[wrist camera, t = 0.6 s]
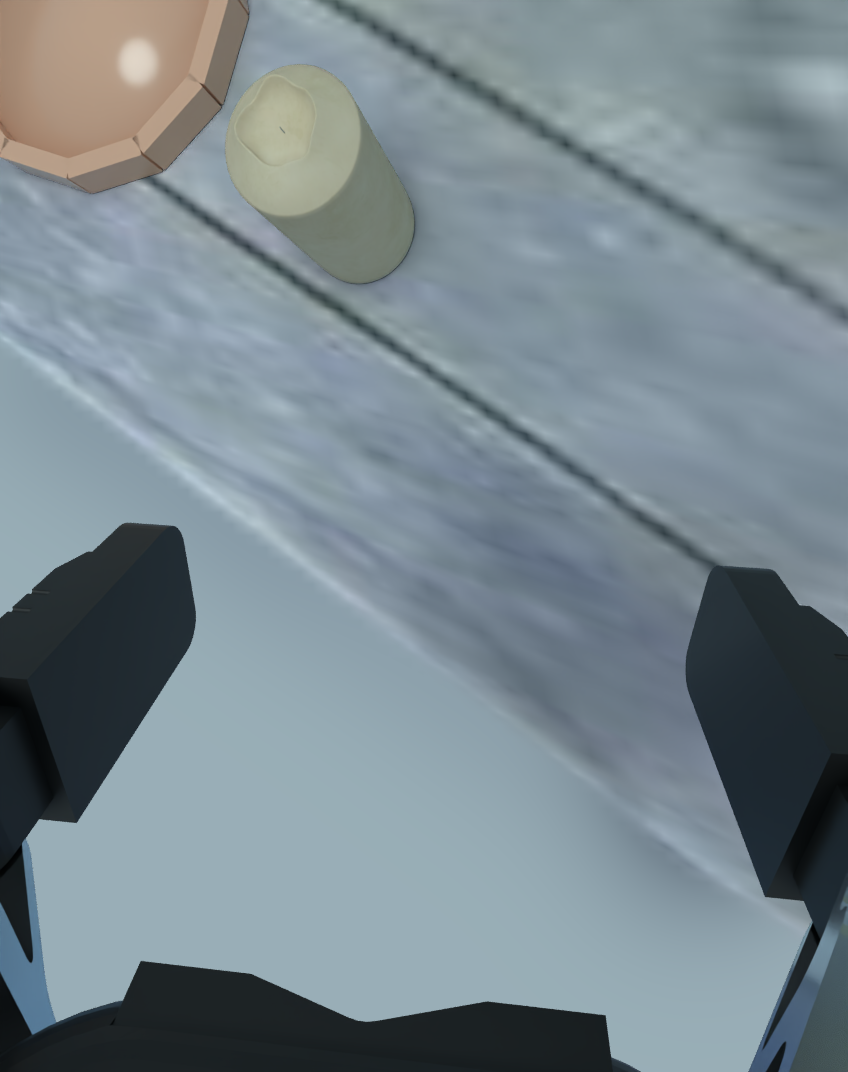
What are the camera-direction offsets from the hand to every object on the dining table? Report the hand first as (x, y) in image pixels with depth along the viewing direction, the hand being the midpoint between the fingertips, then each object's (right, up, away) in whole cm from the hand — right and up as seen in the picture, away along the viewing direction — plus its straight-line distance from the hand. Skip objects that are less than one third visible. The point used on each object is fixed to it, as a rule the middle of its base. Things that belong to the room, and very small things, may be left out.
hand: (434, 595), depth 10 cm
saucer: (-18, +28, +25) cm, 42 cm away
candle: (-3, +16, +23) cm, 28 cm away
